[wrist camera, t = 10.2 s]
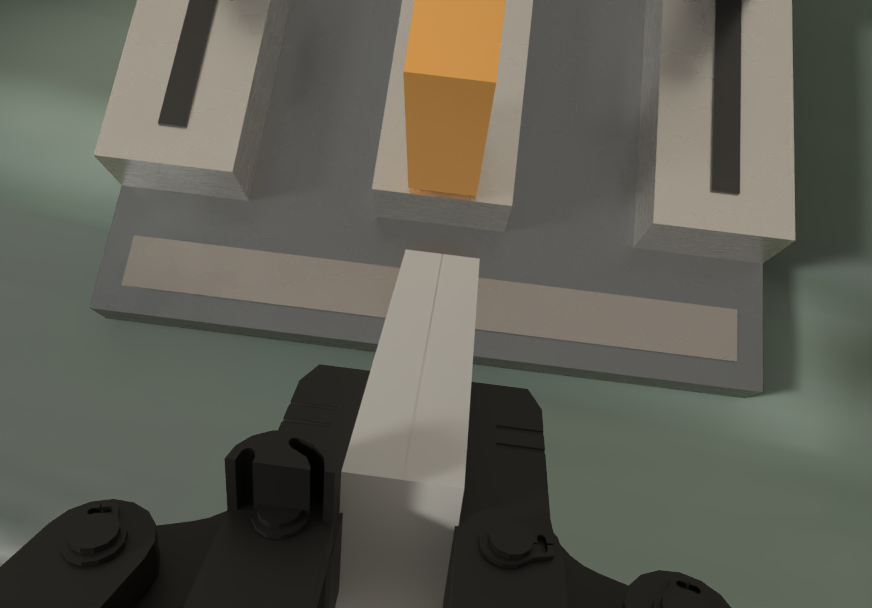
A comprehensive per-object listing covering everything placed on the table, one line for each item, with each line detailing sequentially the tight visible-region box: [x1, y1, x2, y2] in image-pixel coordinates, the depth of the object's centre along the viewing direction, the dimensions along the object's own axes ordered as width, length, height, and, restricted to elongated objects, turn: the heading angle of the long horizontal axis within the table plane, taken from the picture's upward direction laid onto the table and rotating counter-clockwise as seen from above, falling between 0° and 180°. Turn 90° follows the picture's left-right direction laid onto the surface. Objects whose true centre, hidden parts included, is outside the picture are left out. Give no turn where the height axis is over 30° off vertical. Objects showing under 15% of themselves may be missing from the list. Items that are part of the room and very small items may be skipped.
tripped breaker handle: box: [403, 0, 506, 196], centre depth 22 cm, size 2×3×7 cm
